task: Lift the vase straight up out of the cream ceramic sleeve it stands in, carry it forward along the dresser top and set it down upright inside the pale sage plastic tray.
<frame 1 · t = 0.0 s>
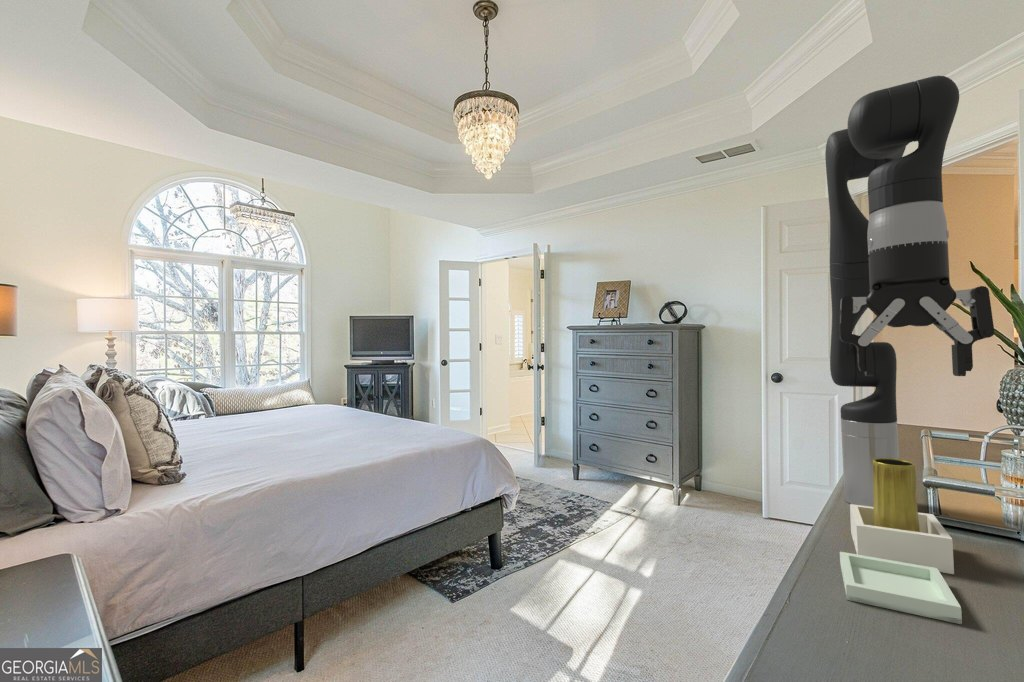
hand: (912, 375, 57), 29 cm above the dresser top, fingers open, 8 cm apart
sleeve: (897, 551, 73), on the dresser top
vase: (897, 552, 73), resting in sleeve
tray: (893, 591, 61), on the dresser top
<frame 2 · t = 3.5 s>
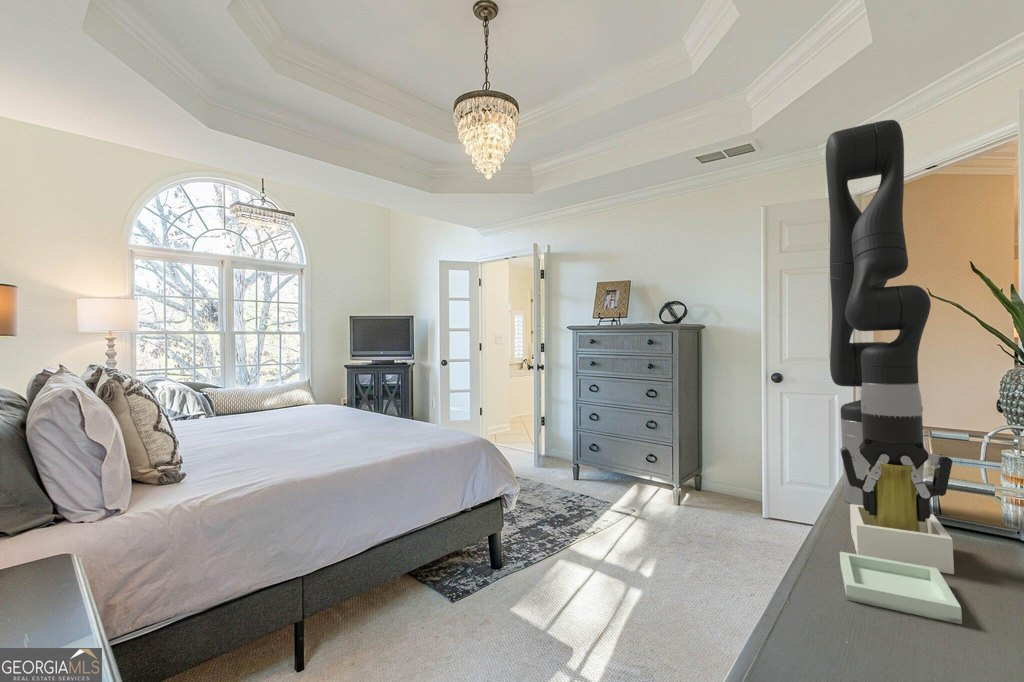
hand: (895, 516, 73), 6 cm above the dresser top, fingers closed on vase, 5 cm apart
vase: (897, 552, 73), resting in sleeve, touching gripper
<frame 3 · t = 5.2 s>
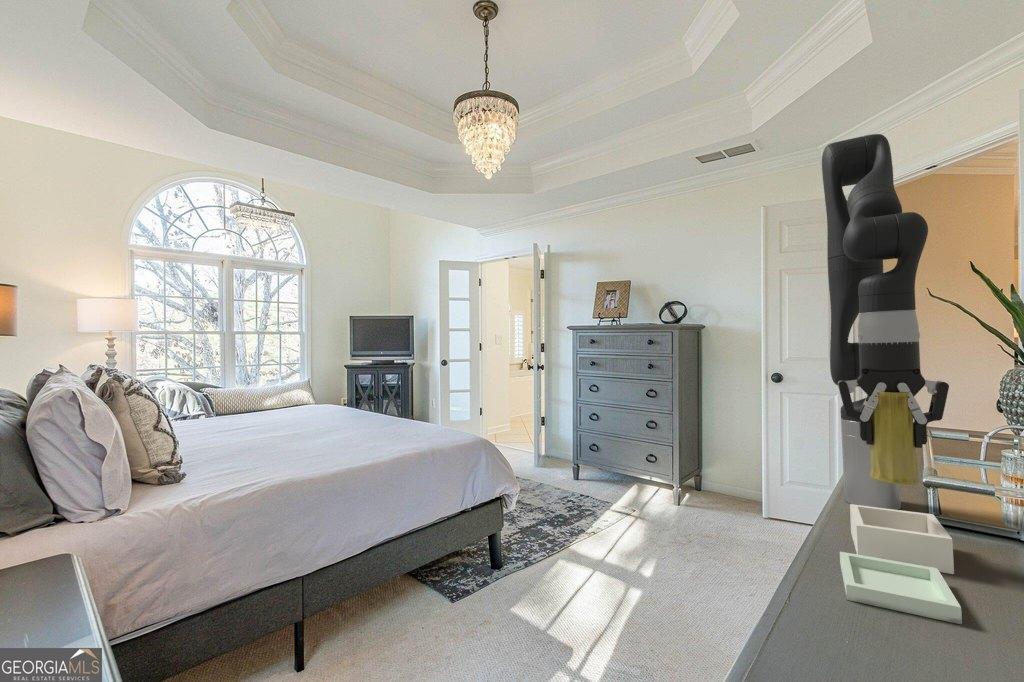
hand: (892, 444, 73), 17 cm above the dresser top, fingers closed on vase, 5 cm apart
vase: (894, 480, 73), point 11 cm above the dresser top, touching gripper
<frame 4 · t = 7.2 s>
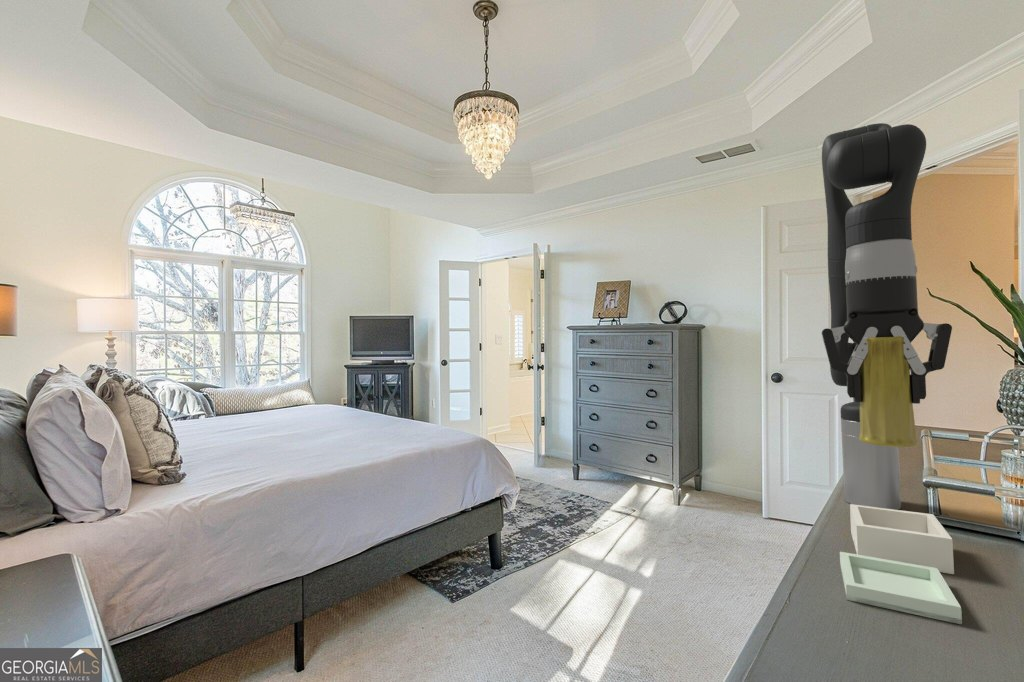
hand: (885, 401, 62), 25 cm above the dresser top, fingers closed on vase, 5 cm apart
vase: (887, 444, 62), point 20 cm above the dresser top, touching gripper
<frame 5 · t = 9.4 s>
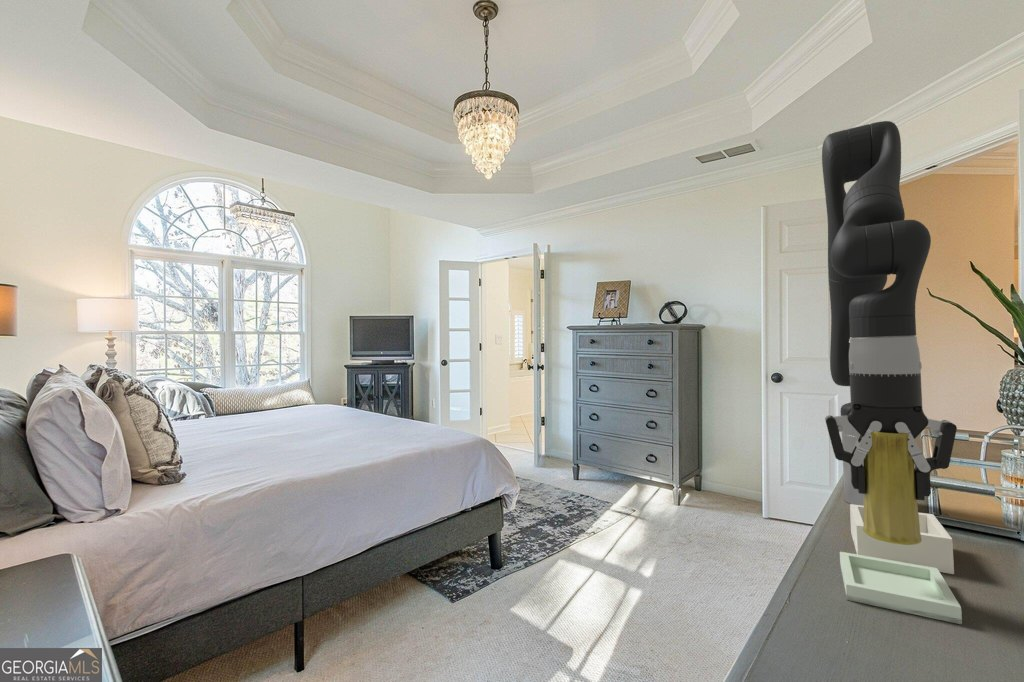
hand: (889, 494, 62), 13 cm above the dresser top, fingers closed on vase, 5 cm apart
vase: (891, 537, 62), point 7 cm above the dresser top, touching gripper
when the fingers open (8 cm above the dresser top, at t = 11.0 s): vase drops 1 cm, resting on tray.
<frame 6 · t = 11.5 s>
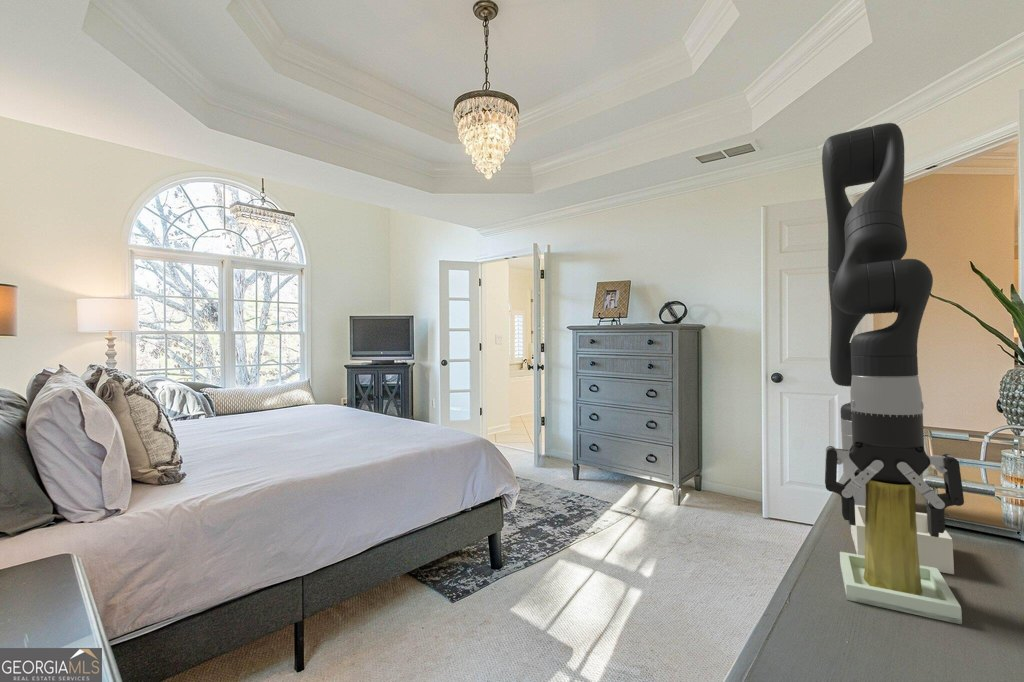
hand: (890, 528, 62), 8 cm above the dresser top, fingers open, 8 cm apart
vase: (892, 586, 62), resting on tray
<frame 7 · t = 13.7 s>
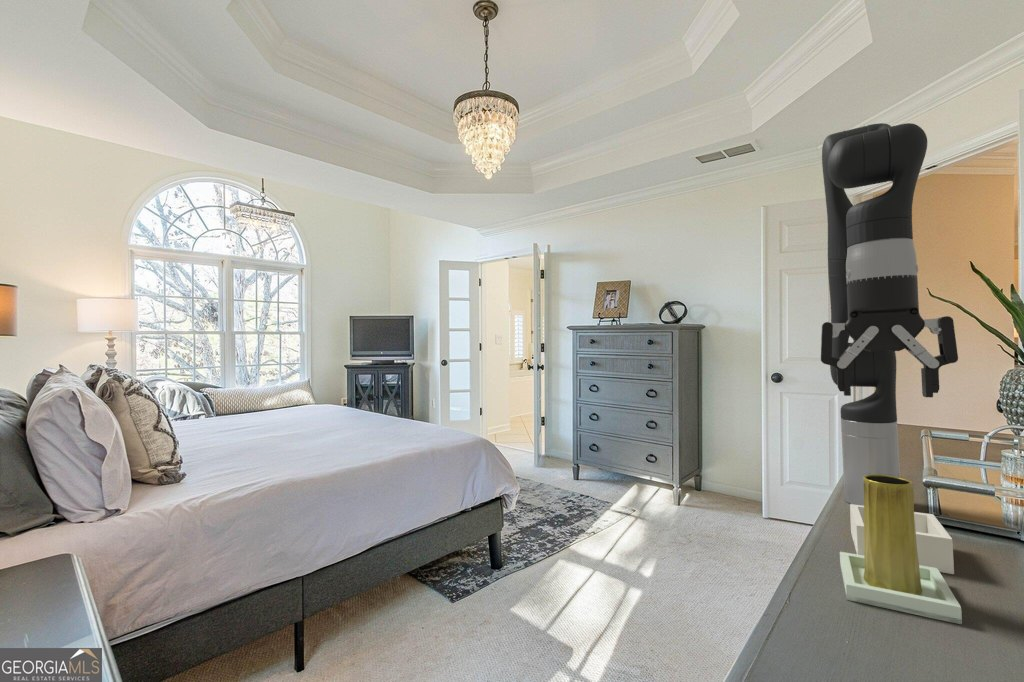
hand: (885, 396, 62), 26 cm above the dresser top, fingers open, 8 cm apart
nothing on the dresser top moved.
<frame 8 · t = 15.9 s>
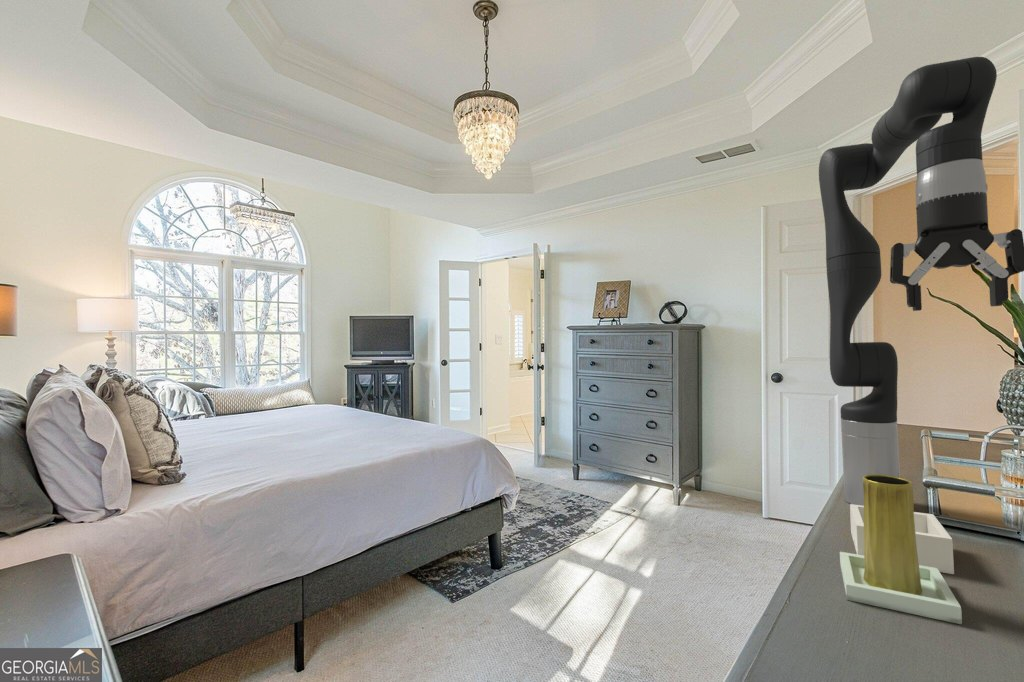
hand: (955, 308, 67), 38 cm above the dresser top, fingers open, 8 cm apart
nothing on the dresser top moved.
at the end: vase 0.1 cm off-centre on the tray, point 0.4 cm above the tray's base; vase tilted 0°; the gripper is holding nothing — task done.
